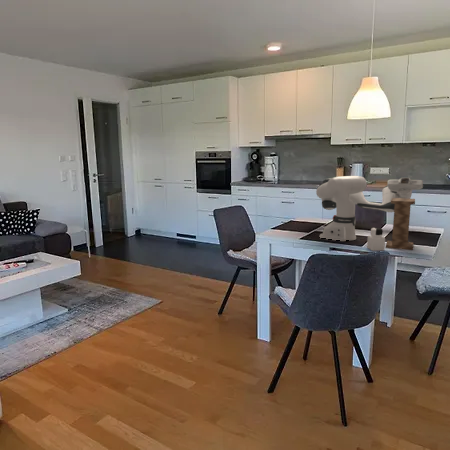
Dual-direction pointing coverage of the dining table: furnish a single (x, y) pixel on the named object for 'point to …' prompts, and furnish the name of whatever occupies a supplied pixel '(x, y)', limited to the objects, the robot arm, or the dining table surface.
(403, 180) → the wooden wick
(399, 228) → the walnut stand
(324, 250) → the dining table surface
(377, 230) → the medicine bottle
